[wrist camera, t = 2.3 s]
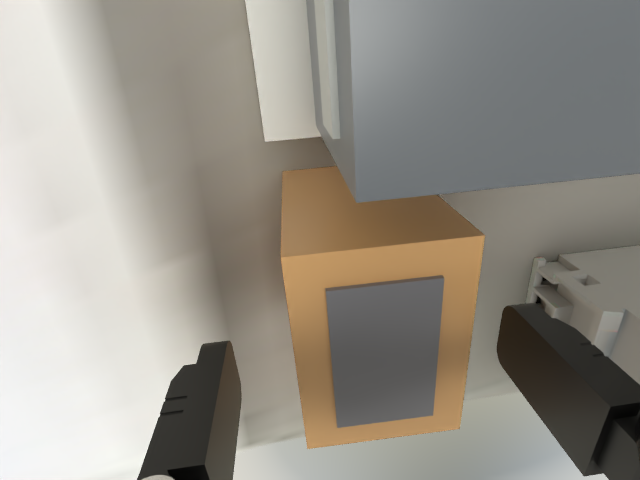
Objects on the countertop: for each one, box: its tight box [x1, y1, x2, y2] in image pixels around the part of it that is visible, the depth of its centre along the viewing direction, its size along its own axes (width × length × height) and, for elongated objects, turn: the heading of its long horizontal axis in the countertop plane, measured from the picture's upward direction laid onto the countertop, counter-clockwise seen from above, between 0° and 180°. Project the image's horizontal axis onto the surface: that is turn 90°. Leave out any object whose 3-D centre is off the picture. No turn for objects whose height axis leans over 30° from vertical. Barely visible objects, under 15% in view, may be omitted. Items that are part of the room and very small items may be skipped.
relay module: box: [281, 166, 485, 449], centre depth 14 cm, size 5×7×8 cm
